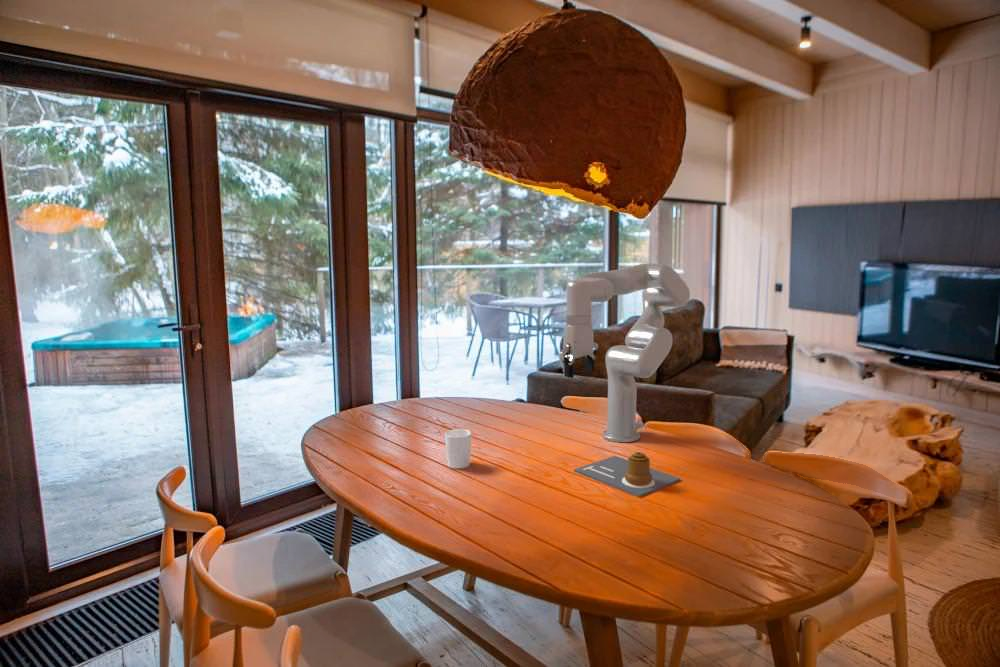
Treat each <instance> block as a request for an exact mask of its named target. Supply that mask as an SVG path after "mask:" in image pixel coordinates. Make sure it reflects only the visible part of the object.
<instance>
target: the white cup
mask: <svg viewBox="0 0 1000 667" xmlns="http://www.w3.org/2000/svg"><path fill="white" fill-rule="evenodd" d="M444 441H445V442H444V443H445V452H446V454H445V455H446V459H447V467H449V468H451V469H455V470H461V469H466V468H468V467H469V466H470V465H471V463H470V462H471V459H470V458H471V453H472V452H471V448H472V432H471V430H468V429H462V428H459V429H458V428H455V429H450V430H447V431H446V432H444Z"/></svg>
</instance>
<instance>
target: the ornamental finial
mask: <svg viewBox="0 0 1000 667" xmlns="http://www.w3.org/2000/svg"><path fill="white" fill-rule="evenodd" d="M627 460H628V471H627V472H626V473H625V479H626V481H627V482H628V483H630V484H633V485H638V486H643V485H648V484H649V483H650V482H651V481H652V475H651V473H650V468H651V466H650V461H651V460H650V458H649V457H648V456H647V455H645V453H643V452H640V451H635V453H633V454H631V455H630V456H629V457H628V459H627Z"/></svg>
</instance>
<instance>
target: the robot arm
mask: <svg viewBox="0 0 1000 667" xmlns="http://www.w3.org/2000/svg"><path fill="white" fill-rule="evenodd" d="M638 291H642V292H641V293H642V294H641V297H642V313H641V314H640V316H639V318H638V319H637V321H635V323H634V324H633V325H632V327H631V328H630V329H629V330H628V332H627V334H626V336H625V337H624V338H625V339H624V344H625V345H620V344H619V345H613V346H611V347H610V348H609V349H608V350H607V351H606V354H605V358H604V359H605V368H606V372H607V420H606V422H607V424H606V425H607V428H606V429H604V431H603V432H602V437H603V438H604V439H605V440H608V441H612V442H615V443H616V442H617V443H632V442H636V441H638V440H639V439H640V438H641V434H640V432H638V429H641V428H643V427H644V422H643V421H639V422H637V383H636V380H635V377H636V378H639V379H640V378H641V379H647V378H650V377H652V376H653V375H654V374H655V373H656V371H657V370H658V368H659V367H660V366H661V364H662V363H663V362H664V360H665V359H666V358H667V357H668V355H669V353H670V351H671V350H672V347H673V346H672V345H673V342H674V341H673V335H672V333H671V331H670V330H669V329H667V328H665V327H664V325H665V323H666V322H665V317H664V314H663V312H662V308H661V307H667V308H670V307H671V308H683V307H685V306H686V305H687V304H688V303H689V301H690V299H691V297H690V296H691V294H690V289H689V287H688V285H687V283H686V282H685V280H683V279H682V278H681V276H680V274H678V272H677V271H675V269H674V268H672V267H671V266H670V265H668V264H665V263H640V264H635V265H632V266H628V267H623V268H620V269H614V270H608V271H606V270H605V271H600V272H594V273H589V274H585V275H580V276H577V277H576V278H575V279H573V280H569V281H568V282H567V284H566V325H565V327H564V330H563V340H562V349H561V350H560V351H559V354H558V355H559V358H560V361H561V362H562V364H563V365H564V371H563V372H564V377H566V378H568V379H569V378H571V379H572V378H574V376H575V374H574V364H573V363H574V361H575V359H579V358H584V357H585V359H584V371H585V372H588V373H593V372H594V371H595V362H594V361H595V359H596V355H597V352H598V348H599V344H598V343H597V342H595V341H594V330H593V324H592V303H606V302H608V301H610V300H611V299H612V298H613V296H624V295H629V294H632V293H636V292H638Z"/></svg>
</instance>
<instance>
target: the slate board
mask: <svg viewBox="0 0 1000 667" xmlns="http://www.w3.org/2000/svg"><path fill="white" fill-rule="evenodd" d="M627 471H628V459H626V458H623V457H619V456H618V455H613V456H611V457H610V456H609V457H607V458H603V459H601V460H598V461H594V462H592V463H588V464H586V465H582V466H580V467H576V468H574V469H573V472H575V473H577V474H579V475H582V476H585V477H587V478H590V479H592V480H595V481H597V482H600V483H602V484H605V485H608V486H609V487H612V488H615V489H617V490H620V491H623V492H624V493H627V494H630V495H632V496H634V497H637V498H641V497H644V496H646V495H649V494H650V493H653V492H656V491H658V490H660V489H664V488H665V487H668V486H671V485H673V484H675V483H678V482H680V481H681V477H677V476H675V475H671V474H669V473H667V472H666V473H665V472H663V471H660V470H657V469H654V468H652V467H650V473H651V475H652V481H651V482H650V483H649V484H648V485H643V486H638V485H633V484H630V483H628V482H627V481H626V479H625V473H626V472H627ZM670 484H671V485H670Z"/></svg>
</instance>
